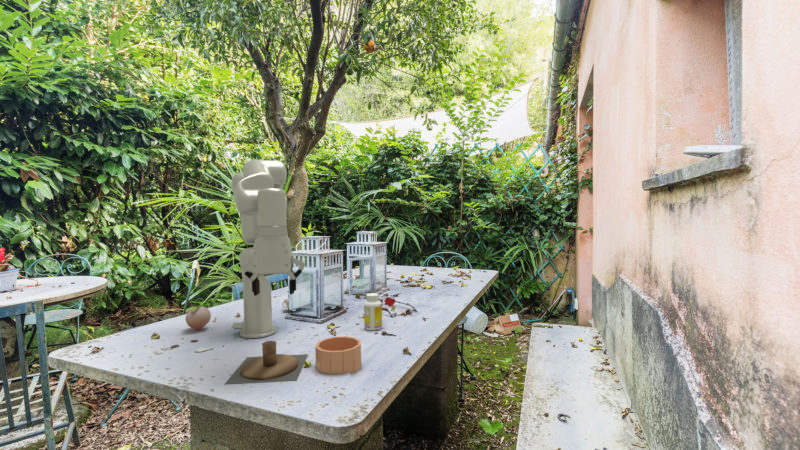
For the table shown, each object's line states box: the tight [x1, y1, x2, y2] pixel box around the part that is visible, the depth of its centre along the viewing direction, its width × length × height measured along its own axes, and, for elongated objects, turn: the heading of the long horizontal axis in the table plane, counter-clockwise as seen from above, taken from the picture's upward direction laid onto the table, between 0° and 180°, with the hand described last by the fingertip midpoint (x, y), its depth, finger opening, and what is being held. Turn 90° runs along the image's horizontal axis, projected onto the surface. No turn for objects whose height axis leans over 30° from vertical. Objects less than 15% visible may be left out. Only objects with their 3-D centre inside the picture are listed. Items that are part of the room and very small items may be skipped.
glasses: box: [378, 296, 418, 319], centre depth 164 cm, size 14×16×5 cm
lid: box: [241, 340, 298, 380], centre depth 103 cm, size 15×15×7 cm
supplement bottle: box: [363, 292, 383, 332], centre depth 139 cm, size 7×7×13 cm
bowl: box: [314, 335, 362, 375], centre depth 105 cm, size 12×12×6 cm
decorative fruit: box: [185, 303, 212, 331], centre depth 141 cm, size 9×8×10 cm
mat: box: [223, 353, 309, 386], centre depth 103 cm, size 18×18×1 cm
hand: (274, 293), depth 104 cm, fingers open, 9 cm apart
